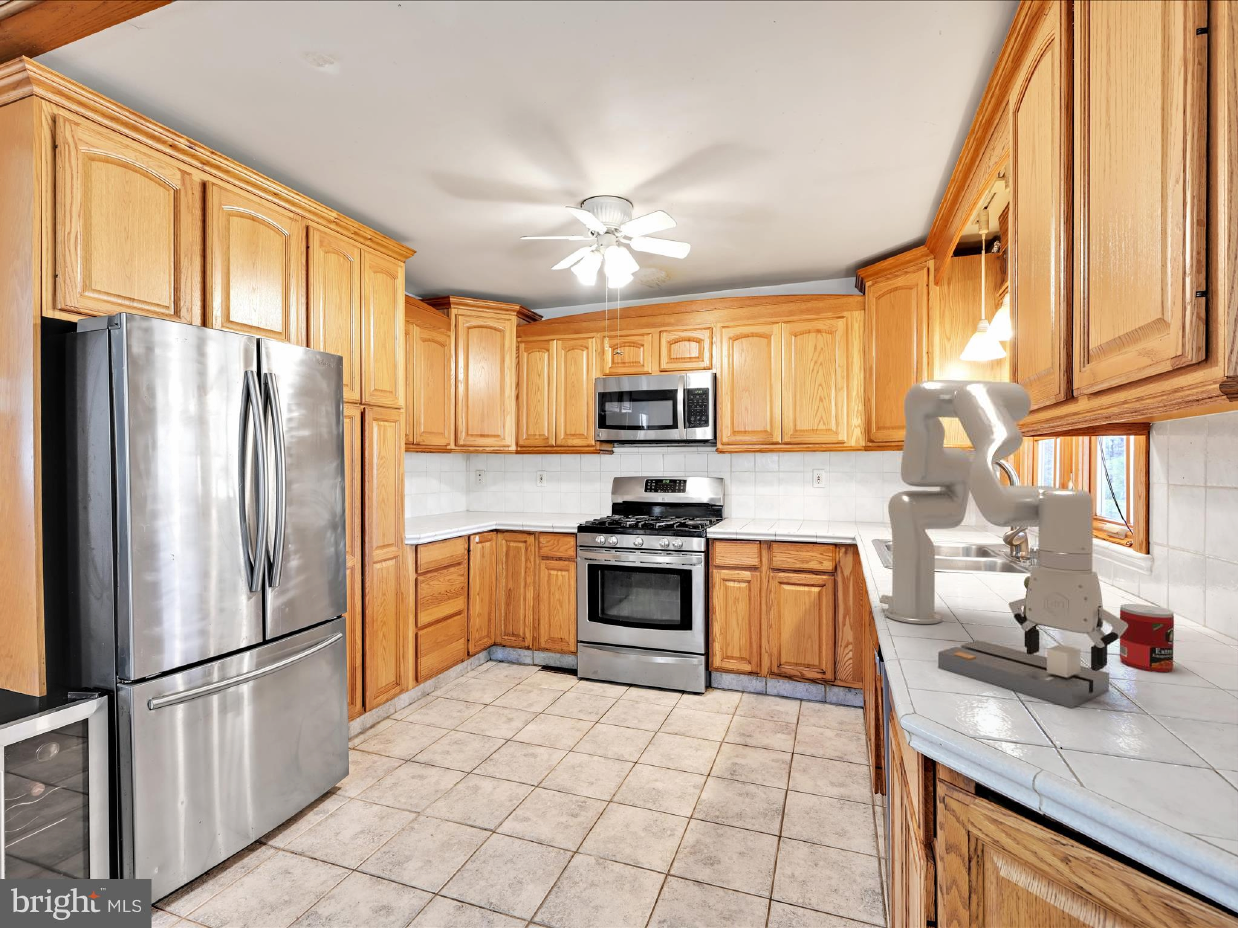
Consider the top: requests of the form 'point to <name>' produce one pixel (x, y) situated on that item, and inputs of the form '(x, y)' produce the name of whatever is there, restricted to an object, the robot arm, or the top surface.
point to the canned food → (1147, 637)
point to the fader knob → (1063, 660)
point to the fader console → (1023, 673)
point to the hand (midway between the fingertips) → (1063, 660)
